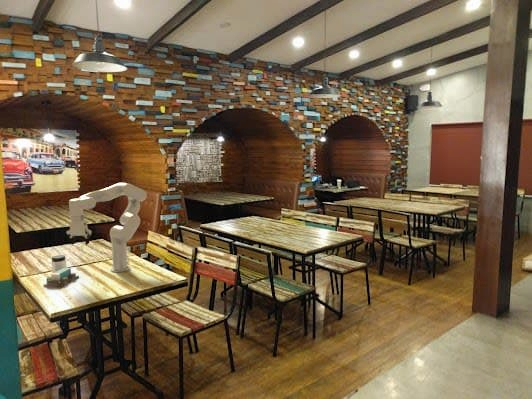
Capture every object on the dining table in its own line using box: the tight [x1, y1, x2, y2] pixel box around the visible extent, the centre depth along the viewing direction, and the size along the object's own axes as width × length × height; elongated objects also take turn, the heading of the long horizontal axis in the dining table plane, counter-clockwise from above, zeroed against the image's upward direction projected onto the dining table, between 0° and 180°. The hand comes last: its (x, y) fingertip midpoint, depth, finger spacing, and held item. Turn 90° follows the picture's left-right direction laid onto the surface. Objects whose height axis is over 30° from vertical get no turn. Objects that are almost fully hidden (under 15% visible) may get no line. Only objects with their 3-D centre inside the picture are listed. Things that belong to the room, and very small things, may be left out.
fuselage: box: [50, 267, 72, 284], centre depth 257 cm, size 13×5×6 cm, turn 174°
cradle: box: [43, 272, 80, 288], centre depth 257 cm, size 19×12×4 cm, turn 174°
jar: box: [50, 254, 68, 274], centre depth 273 cm, size 9×8×12 cm
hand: (80, 243), depth 258 cm, fingers open, 9 cm apart
